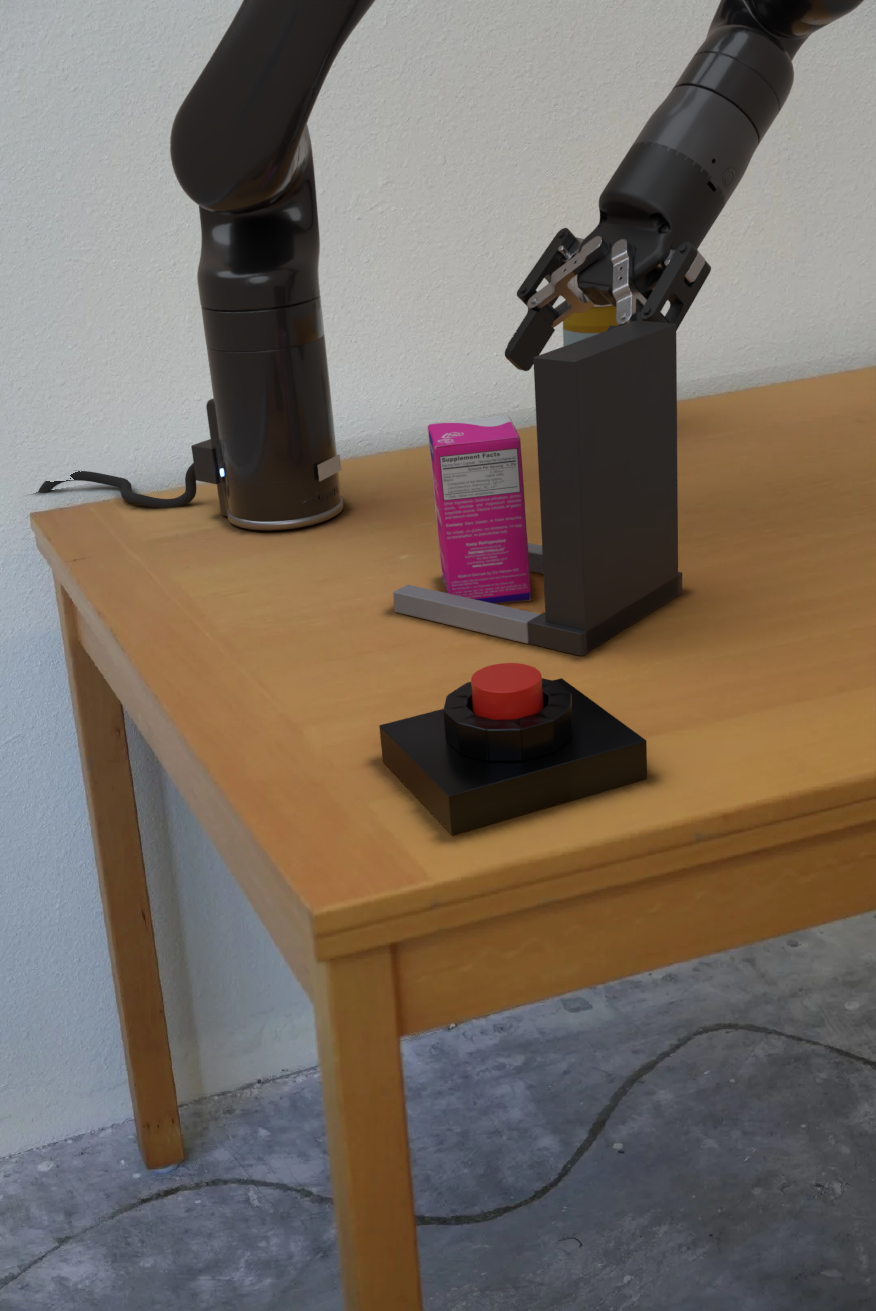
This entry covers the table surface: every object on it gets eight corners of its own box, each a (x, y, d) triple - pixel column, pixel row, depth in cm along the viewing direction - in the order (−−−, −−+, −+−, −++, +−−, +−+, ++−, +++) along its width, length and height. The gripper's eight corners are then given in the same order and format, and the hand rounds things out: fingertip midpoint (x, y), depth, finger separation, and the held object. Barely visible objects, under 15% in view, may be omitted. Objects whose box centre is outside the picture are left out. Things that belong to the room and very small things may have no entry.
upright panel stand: (394, 612, 99) (370, 343, 92) (503, 556, 107) (488, 307, 100) (580, 657, 90) (570, 363, 83) (683, 592, 98) (681, 321, 91)
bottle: (641, 419, 139) (639, 257, 133) (643, 439, 133) (640, 270, 127) (567, 422, 140) (561, 261, 134) (565, 442, 134) (559, 274, 128)
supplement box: (438, 580, 104) (426, 420, 99) (522, 572, 104) (513, 413, 100) (445, 610, 99) (433, 443, 94) (533, 601, 99) (525, 435, 94)
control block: (452, 835, 72) (446, 762, 70) (382, 761, 79) (375, 694, 78) (647, 778, 75) (646, 708, 74) (563, 713, 83) (560, 648, 81)
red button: (491, 729, 74) (489, 698, 73) (461, 703, 77) (459, 672, 76) (555, 712, 75) (554, 681, 74) (523, 687, 78) (521, 657, 77)
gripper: (580, 135, 103) (457, 327, 102) (725, 140, 92) (588, 355, 91) (639, 204, 108) (522, 388, 107) (783, 216, 97) (654, 422, 96)
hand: (552, 373), depth 99 cm, fingers open, 8 cm apart
